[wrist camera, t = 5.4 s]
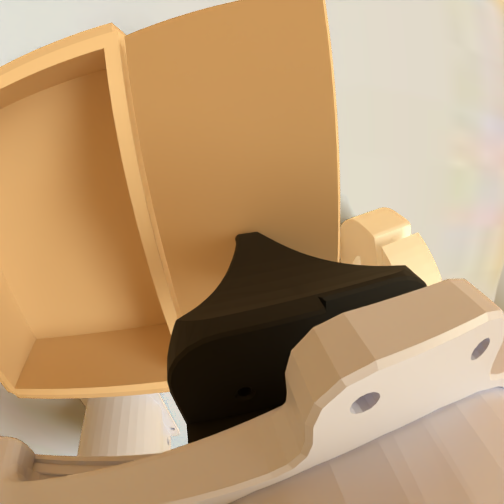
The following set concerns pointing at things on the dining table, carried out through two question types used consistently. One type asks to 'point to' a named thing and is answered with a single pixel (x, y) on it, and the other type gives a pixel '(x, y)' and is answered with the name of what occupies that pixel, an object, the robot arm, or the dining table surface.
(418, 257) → the letter
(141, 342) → the carton
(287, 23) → the carton flap
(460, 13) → the dining table surface
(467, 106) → the dining table surface
